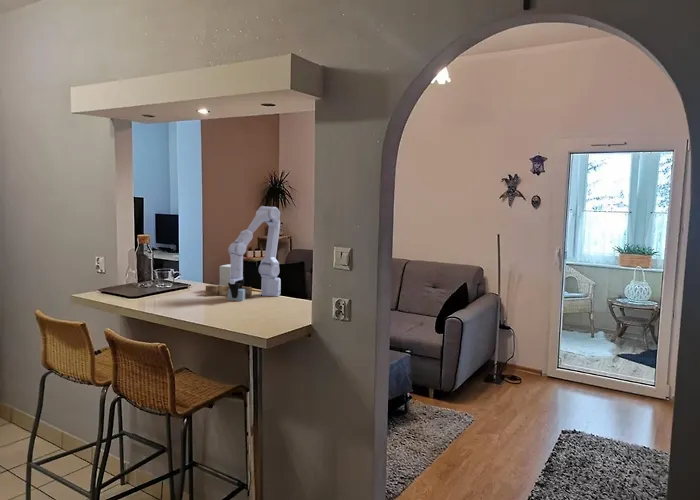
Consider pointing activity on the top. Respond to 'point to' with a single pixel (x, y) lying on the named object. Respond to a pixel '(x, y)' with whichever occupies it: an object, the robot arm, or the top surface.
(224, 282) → the small box
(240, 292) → the cabinet block
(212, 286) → the beige wooden bar
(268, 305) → the top surface
